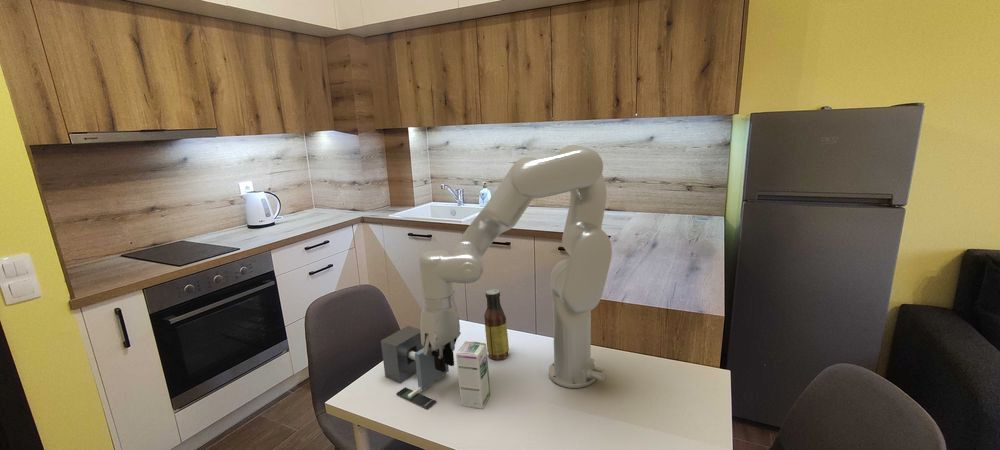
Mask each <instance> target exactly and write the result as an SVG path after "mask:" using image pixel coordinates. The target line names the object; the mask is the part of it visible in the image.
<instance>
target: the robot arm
mask: <svg viewBox="0 0 1000 450" xmlns="http://www.w3.org/2000/svg"><path fill="white" fill-rule="evenodd" d="M603 171H604V163H603V159H602V158H601V155H600V154H599V152H597V151H595V150H594V149H592V148H588V147H584V146H582V145H576V144H575V145H574V144H571V145H566V146H564V147H563V148H562V149H560V150H559V152H557V155H553V156H552V155H551V156H547V157H543V158H537V159H536V158H534V157H528V156H525V157H521V158H519V159H517V160H516V161H515V162H514V163H513V165H512V166H511V167H510V168H509V170H508V172H507V173H506V175H505V176H504V177H503V179H502V181H501V182H500V183H499V185H498V186H497V188H496V190H495V191H494V192H493V194H492V195H491V197H490V199H489V200H488V201H487V202H486V204H485V205H484V207H483V208H482V209H481V210H480V212H479V213H478V214H477V216H476V217H475V218H474V219H473V220H472V221H471V223H470V224H469V226H468V227H467V228H466V230H465V231H464V233H463V234H462V236H461V237H460V239H459V241H458V242H457V243H456V245H455V246H454V248H453V251H452V254H450V253H449V252H448V251H446V250H443V249H441V250H440V249H434V250H428V251H425V252H423V253H421V255H420V256H419V260H418V261H419V270H420V280H421V291H422V302H423V303H422V304H423V308H422V309H421V314H420V323H419V324H420V328H419V329H420V331H421V344H422V346H424V351H423V354H424V355H427V356H433V357H434V362H435V369H436V370H439V371H441V372H445V371H446V365H445V364H447V365H448V366H450V367H454V366H455V358H454V351H455V350H456V343H457V340H458V339H459V337H460V336H461V333H462V332H461V326H460V325H461V324H460V316H459V311H458V306H457V304H456V301H455V289H454V283H456V284H458V283H459V284H473V283H476V282H477V281H479V280H480V279H481V278H482V276H483V274H484V268H485V267H484V262H483V257H484V255H485V254H486V252H487V251H488V249H489V247H490V246H491V245H492V243H493V242H494V241H495V240H496V239H497V238H498V237H499V236H500V235H501V234H503V233H504V232H507V231H509V230H511V229H513V228H514V227H515V226H516V225H517V224H518V222H519V220H520V219H521V218H522V216H523V214H524V213H525V211H526V210H527V209H528V207H529V206H530V205H531V203H532V202H533V200H535V199H543V198H548V197H552V196H557V195H560V194H565V193H568V192H570V198H569V199H570V200H569V206H568V210H567V211H568V212H567V215H566V221H565V225H564V229H563V232H562V233H563V234H562V238H561V242H562V247H563V248H564V250H565V251H566V253H567V254H568V255H569V258H565V259H562V260H559V261H558V262H557V263H556V264H555V265H554V267H553V268H552V269H551V270H552V271H551V274H550V280H549V281H550V290H551V291H550V292H551V300H552V301H551V302H552V318H553V319H552V327H553V361H554V362H553V363H551V364H550V366H548V367H549V368H548V376H549V379H550V380H551V381H552V382H553V383H555V384H556V385H559V386H560V387H565V388H568V389H569V388H570V389H579V388H585V387H587V386H590V385H591V384H593V383H594V382H595V381H596V380H597V381H601V382H605V379H606V374H605V369H604V368H603V367H599V366H596V365H595V359H594V358H591V357H592V356H591V354H592V353H591V350H592V345H591V344H592V343H591V341H592V340H591V339H592V338H591V337H592V336H591V333H592V332H591V331H592V330H591V328H592V327H591V325H592V324H591V321H592V320H591V319H592V316H591V315H592V313H591V311H592V310H593V309H594V310H595V308H596V307H597V306H598V305H599V304H600V303H599V302H600V301H601V299H602V296H603V294H604V289H605V286H606V283H607V278H608V274H609V270H610V266H611V261H612V256H613V254H612V253H613V249H612V247H613V246H612V242H611V238H610V237H609V236H608V234H607V233H606V232H605V231H604V230H603V229H602V226H603V222H604V221H603V220H604V216H605V210H606V209H605V208H606V203H607V184H606V181H605V178H604V175H603ZM442 346H444V348H445V349H442ZM437 349H438V352H437V351H436V350H437Z"/></svg>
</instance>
